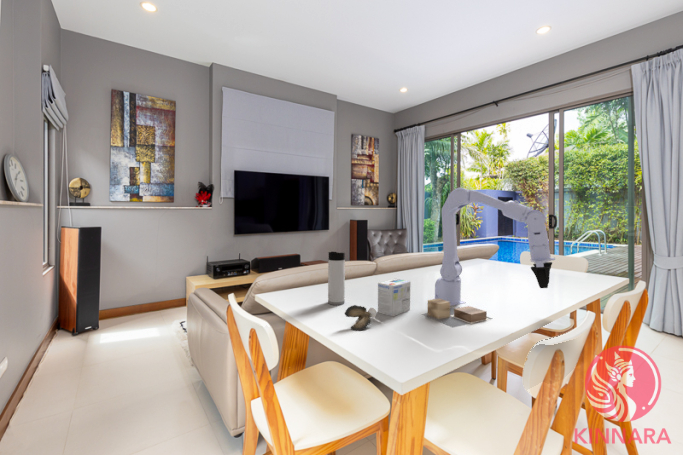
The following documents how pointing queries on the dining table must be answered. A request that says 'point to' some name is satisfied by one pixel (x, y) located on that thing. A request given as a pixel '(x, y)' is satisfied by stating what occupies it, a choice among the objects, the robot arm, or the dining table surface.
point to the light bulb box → (393, 297)
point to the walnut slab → (470, 314)
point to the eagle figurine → (360, 316)
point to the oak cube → (438, 308)
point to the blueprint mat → (454, 319)
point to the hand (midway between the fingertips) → (544, 285)
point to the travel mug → (336, 278)
